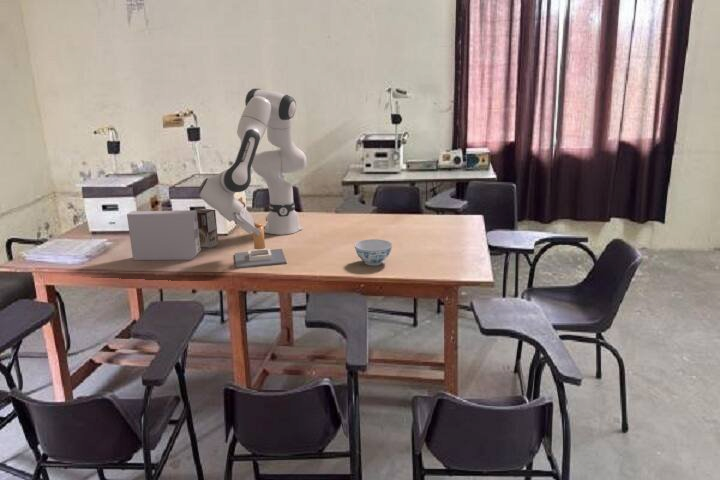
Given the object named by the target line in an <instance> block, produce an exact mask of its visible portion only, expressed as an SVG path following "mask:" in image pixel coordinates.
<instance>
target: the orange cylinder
mask: <svg viewBox="0 0 720 480" xmlns="http://www.w3.org/2000/svg"><path fill="white" fill-rule="evenodd" d="M254 225H255V227H256V228H257V229H259V230H260V231H261V234H260V235H259V236H258V235H257V234H256V233H254V232H252V237H253V247H254V248H253V250H259V249H266V246H265V245H266V244H265V243H266V241H265V233H264V229H265V227H264V225H263V223H261V222H255V224H254Z"/></svg>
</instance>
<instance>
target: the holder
mask: <svg viewBox="0 0 720 480" xmlns="http://www.w3.org/2000/svg"><path fill="white" fill-rule="evenodd" d="M234 260H235V267H236V269H242V268H243V269H244V268H253V267H264V266H276V265H277V266H278V265H287V264H288V263H287V258H286V257H285V254H284V251H283V249H282V248H277V249H270V248H264V249H250V250H249V249H248V250H247V251H243V252H241V251H240V252H234Z"/></svg>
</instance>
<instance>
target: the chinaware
mask: <svg viewBox="0 0 720 480" xmlns="http://www.w3.org/2000/svg"><path fill="white" fill-rule="evenodd" d="M392 248H393V244H392V242H390V241H389V240H385V239H379V238H378V239H377V238H375V239H373V238H372V239H363V240H359V241H357V242H355V243H354V249H355V252H356V254H357V256H358V258H360V259H361V261H363V262H364V263H365V264H366V265H367V266H371V265H372V267H373V266H380V265H381V264H382V263H383V261H384V260H385V261H386V259H387V258H388V257H389V255H390V254H391V251H392Z"/></svg>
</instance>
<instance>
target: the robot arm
mask: <svg viewBox="0 0 720 480" xmlns="http://www.w3.org/2000/svg"><path fill="white" fill-rule="evenodd" d="M244 103H245V107H244V109H243V111H242V114H241V116H240V119H239V121H238V122H239V123H238V125H237V130H236V134H237V137H238V138H239V139H240V146H239V149H238V153H237V155H236V158H235V160H234V163H233V164H232V165H231V166H230V167H229V168H227V169H225V170H223V171H221V172H220V173H218V174H216V175H214V176H211V177H206V178H205V179H204V180H202V183H201V185H200V186H199V189H198V195H199V197H200V198H201V200H202V201H204V202H205V203H206V204H207V205H208V206H209V207H211V208H212V209H213V210H215V211H217V212H218V213H219V215H220V216H222V217H224V219H226V220H227V221H228V222H230V223H231V222H233V223H234V222H235V223H236V224H237V225H238V226H239V228H241V229H242V230H243V231H245V232H246V233H248V234H249V235H250V234H251V233H253V232H254V233H256V234H257V235H258V236H259V235H260V234H261V231H260V230H259V229H257V228H256V227H255V225H254V224H255V223H256V222H254V218H253V215H252V214H251V213H250V212H249V211H248V210H247V209H246V208H245V207H244V206H245V204H244V203H242V202H241V201H240V200H239V199H237V198H236V197H235V194H236V193H242V192H245V191H246V190H248V188H249V187H250V185H251V181H252V177H251V175H252V174H251V173H252V172H251V170H253V172H255V173H256V174H257V175H259V177H261V178H262V179H263V180H264V182H265V184H266V186H267V189H268V194H269V203H268V204H269V206H268V208H269V212H268V214H267V216H265V222H266V225H265V227H264V234H265V233H266V234H271V235H277V236H278V235H282V236H283V235H290V234H295V233H297V232H299V231H303V229H304V226H301V225H300V221H299V219H300V218H299V214H298V213H299V212H298V211H296V210H295V209H296V206H295V201H294V190H293V186H292V184H291V183H290V182H289V181H286V180H284V179H281V178H280V175H281V174H295V173H298V172H302V171H304V169H305V168H306V167H307V162H308V159H307V156H306V154H305V152H304V151H303V150H301V149H300V148H299V147H298V146H297V145H296V144H295V142H294V140H293V118H294V116H295V113H296V110H297V103H296V100H295V99H294V97H293V96H290V95H288V94H285V93H281V92H278V91H275V90H267V89H261V88H252V89H250V90H249V91H248V92H247V94H246V95H245V102H244ZM266 132H267V133H266ZM265 133H266V137H267V140H268V142H269V143H270V144H271V145H272V146H274V147H277V148H279V149H278V150H264V151H259V152H257V149H258V147H259V145H260V142H261V140H262V139H263V137H264V135H265Z"/></svg>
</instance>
